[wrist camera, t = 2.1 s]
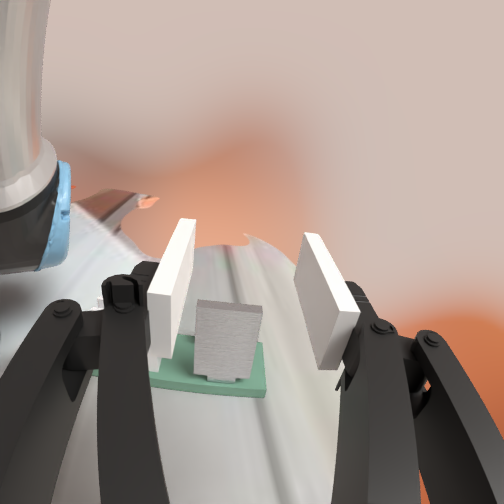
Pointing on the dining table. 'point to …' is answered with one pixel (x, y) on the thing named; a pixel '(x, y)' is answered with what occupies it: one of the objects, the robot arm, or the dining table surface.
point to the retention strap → (225, 340)
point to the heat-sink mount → (183, 378)
